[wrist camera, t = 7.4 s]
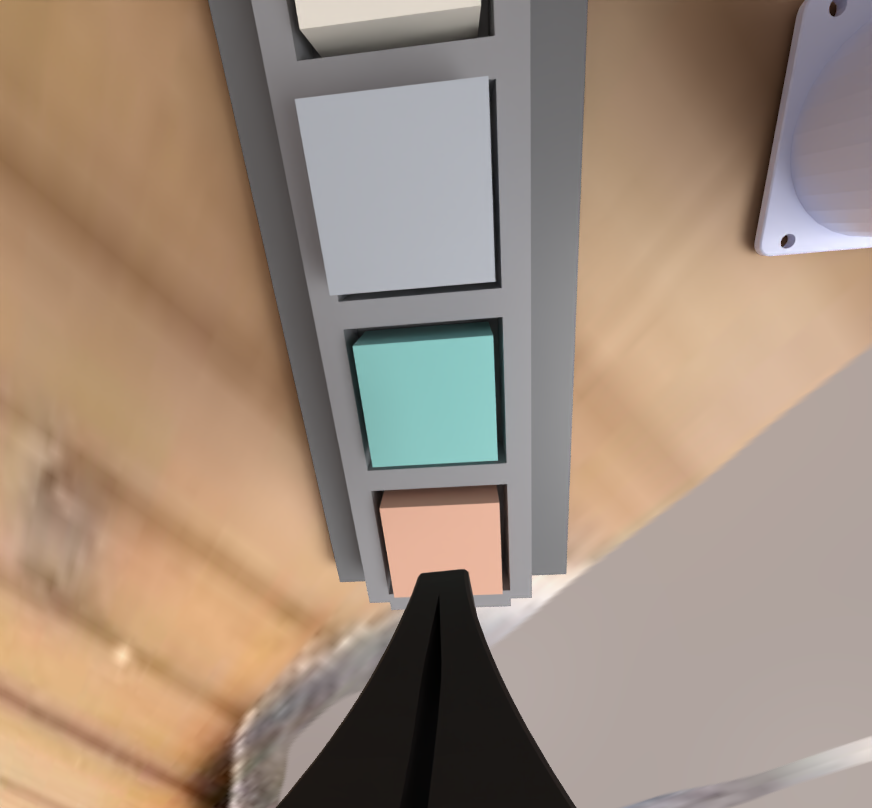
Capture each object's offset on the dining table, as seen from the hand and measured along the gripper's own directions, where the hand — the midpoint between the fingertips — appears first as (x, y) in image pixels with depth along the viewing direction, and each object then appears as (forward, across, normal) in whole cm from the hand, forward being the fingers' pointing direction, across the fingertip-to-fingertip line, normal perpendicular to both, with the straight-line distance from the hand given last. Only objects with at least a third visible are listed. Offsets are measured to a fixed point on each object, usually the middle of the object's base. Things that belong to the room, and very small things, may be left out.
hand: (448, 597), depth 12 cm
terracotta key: (+8, +1, +3) cm, 9 cm away
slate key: (+7, 0, -11) cm, 12 cm away
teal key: (+8, 0, -4) cm, 9 cm away
